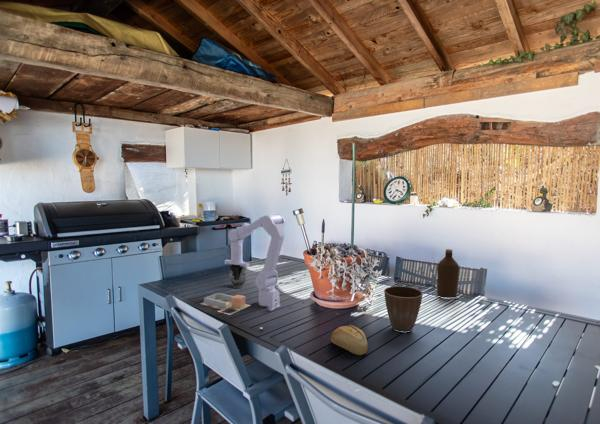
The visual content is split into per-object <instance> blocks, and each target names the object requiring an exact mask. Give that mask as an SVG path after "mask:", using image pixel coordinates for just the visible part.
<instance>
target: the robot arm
mask: <svg viewBox="0 0 600 424" xmlns="http://www.w3.org/2000/svg"><path fill="white" fill-rule="evenodd" d="M285 224H286V220H285V217H284V216H283V215H282V214H280V213H278V214H272V215H271V214H270V215H268V214H267V215H264V216H260V217H259V218H258V219H256V220H255V221H253V222H251V223H249V222H248V223H247V222H244V223H242V225H240V226H237V227H236V228H235V229H233V228H232V229H230V230H229V231H228V233H227V235H228V236H227V237H228V239H229V240H230V259H224V265H230V266H229V269H230V270H231V271H230V272H231V273H233V276H234V280H239V277H240V274H241V271H242V269H243V267H245V268H246V269H248V268H250V263H249V262H246V261H244V260H243V256H244V255H243V244H244V239H245V238H246V237H248V236H251V235H253V233H254V231H255V230H257V229H260V228H263V229H264V231H265V232H266V233H267V234H268V235H269V236H270V238H271V239H270V241H269V246H268V250H267V254H266V258H265V260H264V265H263V268H262V269H260V271H259V272H258V275H257V276H256V278H255V282H254V283H255V286H256V287H257V289H258V305H259V306H261V307H265V308H264V310H265V311H271V312H272V311H274V310H276V309H277V308H279V307H281V304H280V303H281V302H280V297H281V296H280V295H281V294H280V291H279V290H278V289H276V288H275V287H276V285H277V283H278V281H279V280H278V274H279V272H278V271H277V270H276V268H277V265H278V261H279V257H280V255H281V250H282V246H283V242H284V239H285Z"/></svg>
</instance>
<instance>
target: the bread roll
mask: <svg viewBox="0 0 600 424" xmlns="http://www.w3.org/2000/svg"><path fill="white" fill-rule="evenodd" d="M330 340H331V343H333V344H334V345H336V346H338V347H340V348H342V349H344V350H346V351H347V352H350V353H352V354H353V355H357V356H363V354H364V355H366V354H367V352H368V350H369V349H368V348H369V345H368V344H369V343H368V341H367V336H366V334H365V332H364V331H363V330H362V329H360V328H359V327H357V326H355V325H352V324H345V325H342V326H339V327H337V328H336V329H334V330H333V332H331V335H330Z"/></svg>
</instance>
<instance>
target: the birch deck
mask: <svg viewBox="0 0 600 424" xmlns="http://www.w3.org/2000/svg"><path fill="white" fill-rule="evenodd" d="M215 300H218V301H222V302H226V308H221V307H217V306H214V305H210V304H206V303H204V301H202V302H201V303H199V305H202V306H206V307H211V308H213V309H218V310H217V313H221V314H225V315H229V316H231V315H233V314H235V313H238V312H241V311H242V310H244V309H246V308H248V307H251V306H252V305H251V304H247V303H245V306H244V307H242V308H241V309H240V308H233V307H232V302H231V301H226V300H222V299H215ZM228 309H231V310H234V311H233V312H230V313H228V312H224V311H227V310H228Z"/></svg>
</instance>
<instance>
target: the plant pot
mask: <svg viewBox="0 0 600 424" xmlns="http://www.w3.org/2000/svg"><path fill="white" fill-rule="evenodd" d="M383 291H384V293H383V294H384V301H385V307H386V311H387V316H388V319H389V322H390V326H391V328H392V330H393V329H395V330H398V331H411V330H412V331H413V328H414V326H415V324H416V321H417V319H418V316H419V312H420V309H421V304H422V301H423V296H424V295H423V292H422V291H421V290H419V289H416V288H414V287H409V286H398V285H396V286H395V285H394V286H389V287H386V288H385V289H384V290H383ZM412 331H411V332H412Z"/></svg>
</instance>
